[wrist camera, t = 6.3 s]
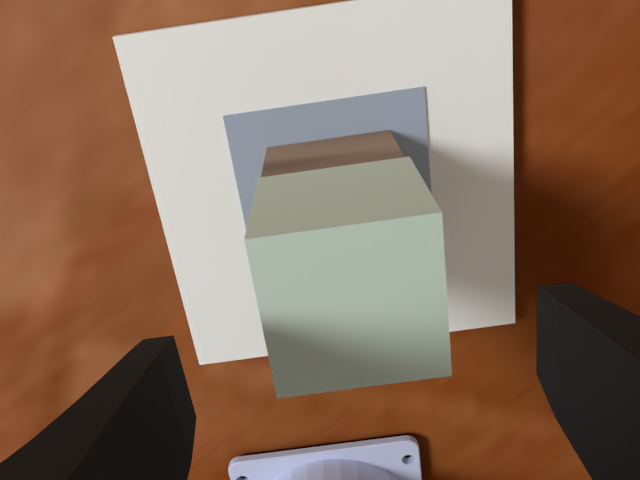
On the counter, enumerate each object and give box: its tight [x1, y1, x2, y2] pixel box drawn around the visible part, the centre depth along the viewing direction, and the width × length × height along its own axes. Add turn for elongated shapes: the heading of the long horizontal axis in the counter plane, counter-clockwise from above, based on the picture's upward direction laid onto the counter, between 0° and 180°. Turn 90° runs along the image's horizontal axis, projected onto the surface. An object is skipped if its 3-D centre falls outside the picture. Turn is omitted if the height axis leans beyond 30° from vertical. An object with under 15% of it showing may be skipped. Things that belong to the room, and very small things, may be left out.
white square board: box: [113, 0, 515, 365], centre depth 21 cm, size 12×12×1 cm
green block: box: [244, 156, 452, 398], centre depth 15 cm, size 4×4×4 cm
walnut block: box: [261, 130, 404, 177], centre depth 19 cm, size 4×4×4 cm
